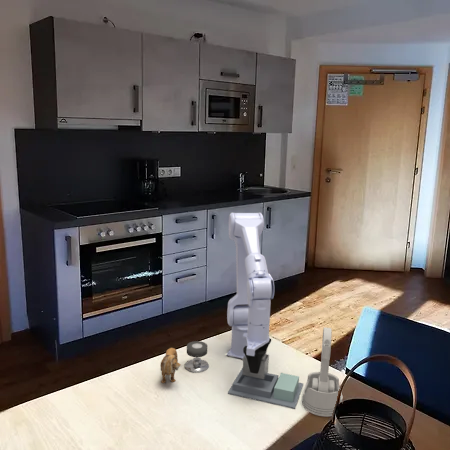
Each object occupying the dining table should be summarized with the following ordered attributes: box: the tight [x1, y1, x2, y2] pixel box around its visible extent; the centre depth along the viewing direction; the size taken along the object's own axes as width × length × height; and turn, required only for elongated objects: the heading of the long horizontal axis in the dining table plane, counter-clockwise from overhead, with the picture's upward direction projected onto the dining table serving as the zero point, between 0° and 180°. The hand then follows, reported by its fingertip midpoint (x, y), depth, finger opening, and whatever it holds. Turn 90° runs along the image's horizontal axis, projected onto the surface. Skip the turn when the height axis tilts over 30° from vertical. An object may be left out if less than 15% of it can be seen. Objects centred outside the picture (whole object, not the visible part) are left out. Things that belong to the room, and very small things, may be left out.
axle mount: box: [184, 357, 210, 374], centre depth 137 cm, size 7×7×2 cm
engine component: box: [301, 326, 344, 417], centre depth 119 cm, size 11×20×10 cm
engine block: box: [242, 351, 270, 379], centre depth 126 cm, size 4×6×6 cm
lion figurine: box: [160, 347, 181, 384], centre depth 131 cm, size 15×5×9 cm, turn 8°
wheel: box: [186, 340, 208, 358], centre depth 136 cm, size 6×6×2 cm
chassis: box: [227, 367, 304, 410], centre depth 126 cm, size 12×18×3 cm, turn 71°
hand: (256, 368), depth 126 cm, fingers closed on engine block, 4 cm apart
